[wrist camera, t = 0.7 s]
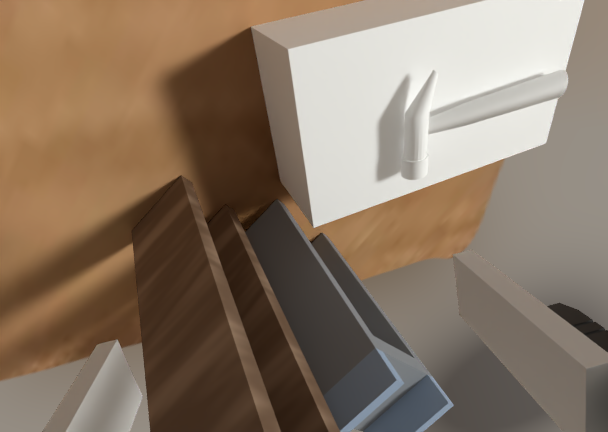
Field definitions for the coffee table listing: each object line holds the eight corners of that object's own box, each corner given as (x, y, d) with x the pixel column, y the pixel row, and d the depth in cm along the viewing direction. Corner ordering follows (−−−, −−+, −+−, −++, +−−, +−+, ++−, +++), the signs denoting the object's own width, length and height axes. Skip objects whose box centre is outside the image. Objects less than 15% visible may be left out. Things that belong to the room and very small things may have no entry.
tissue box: (249, 25, 31) (301, 57, 23) (505, -33, 37) (621, -24, 29) (279, 180, 40) (325, 243, 32) (482, 113, 46) (566, 152, 38)
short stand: (231, 246, 42) (315, 452, 25) (276, 198, 41) (396, 380, 24) (286, 278, 48) (385, 463, 31) (328, 237, 47) (453, 405, 30)
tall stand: (131, 231, 37) (169, 640, 15) (181, 175, 35) (296, 531, 14) (188, 259, 41) (281, 613, 19) (234, 210, 40) (385, 527, 18)
